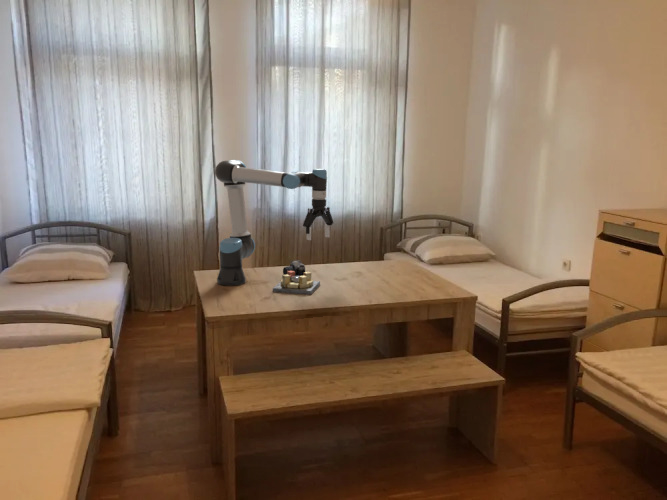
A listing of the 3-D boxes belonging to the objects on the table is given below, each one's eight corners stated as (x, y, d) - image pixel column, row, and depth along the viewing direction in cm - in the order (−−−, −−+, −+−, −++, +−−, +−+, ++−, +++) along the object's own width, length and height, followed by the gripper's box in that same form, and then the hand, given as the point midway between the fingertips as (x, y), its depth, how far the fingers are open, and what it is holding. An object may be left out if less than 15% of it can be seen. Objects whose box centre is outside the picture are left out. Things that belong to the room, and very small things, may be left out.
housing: (272, 291, 293) (272, 280, 292) (283, 282, 312) (284, 271, 311) (310, 294, 289) (310, 283, 288) (319, 284, 308) (320, 274, 307)
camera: (279, 276, 326) (279, 258, 324) (295, 274, 331) (295, 257, 329) (290, 282, 312) (290, 264, 311) (307, 280, 317) (307, 262, 315)
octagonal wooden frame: (277, 287, 294) (277, 276, 293) (286, 279, 310) (286, 269, 309) (308, 289, 291) (308, 278, 290) (315, 281, 306) (315, 271, 305)
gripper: (306, 200, 291) (305, 242, 295) (340, 197, 308) (339, 236, 313) (296, 199, 296) (295, 239, 300) (330, 196, 313) (329, 234, 318)
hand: (318, 238), depth 306 cm, fingers open, 13 cm apart
